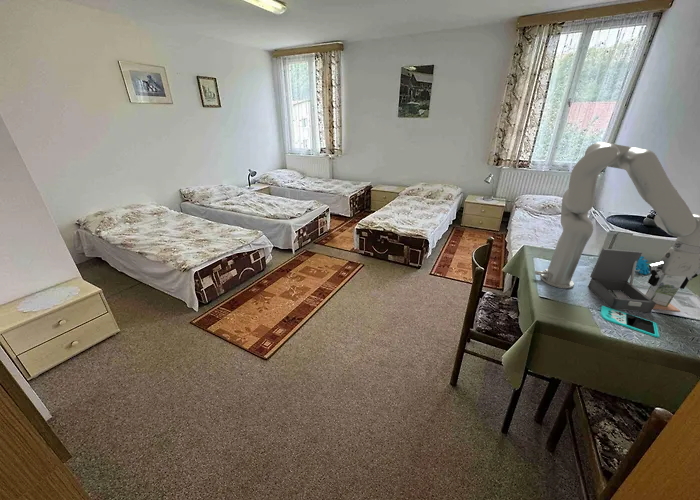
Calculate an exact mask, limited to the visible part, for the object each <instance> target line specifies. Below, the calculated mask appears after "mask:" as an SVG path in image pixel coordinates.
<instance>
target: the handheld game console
mask: <svg viewBox="0 0 700 500" xmlns="http://www.w3.org/2000/svg"><path fill="white" fill-rule="evenodd" d="M600 316H601V317H602V319H603V320H605V321H607V322H610V323H613V324H616V325H619V326H622V327H625V328H628V329H629V330H630V329H631V330H634V331H637V332H639V333H642V334H645V335H648V336H652V337H654V338H657V339H659V337H660V334H659V329H658V324H657V322H654V321H652V320H648V319H645V318H643V317H640V316H637V315H633V314H630V313H626V312H624V311H621V310H619V309H612V308H610V307H609V306H605V305H601V307H600Z"/></svg>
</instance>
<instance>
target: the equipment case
mask: <svg viewBox="0 0 700 500" xmlns="http://www.w3.org/2000/svg"><path fill="white" fill-rule="evenodd" d="M642 254H643V252H642V251H638V250H627V249H626V250H625V249H613V248H602V249H601V251H600V254H599V256H598V258H597V260H596V263H595V265H594V267H593V269H592V272H591V274H590V275H589V277H590V281H589V282H588V285H587V288H588V289H590V290H591V291H592V292H593V293H594V294H595V295H596V296H597V297H598V298H599V299H600V300H601V301H603V303H604V304H605V305H606V306H607V307H608V308H612V309H615V310H622V311H631V312H642V313H650V314H651V312H652V311H653V310H654V309H653V308H654V306H655V304H656V303H655V302H654V301H653V300H651V299H650V298H649V297H647V296H646V295H645V294H646V293H643V292H642V291H641V290H639V289H638V288H637V287H635V286H634V285H633V282H634V277H635V273H636V264H637V262H638V260H639V258H640V257H641V256H642ZM629 279H630V280H629ZM611 291H615V292H617V291H618V292H622V293H623V294H624V295H625V296H627V297H628V298H623V297H617V296H616V295H614V293H613V292H611Z"/></svg>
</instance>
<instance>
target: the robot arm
mask: <svg viewBox="0 0 700 500" xmlns="http://www.w3.org/2000/svg"><path fill="white" fill-rule="evenodd" d="M608 167H609V168H614V169H620V170H624V171H626V173H627V175H628V176H629V178H630V179H631V182H632V184H633V185H634V187H635V189H636V190H637V193H638V194H639V196H640V197H641V198H642V200H643V201H644V202H645V203H647V204H648V205H649V206H650V207H651V208H652V210H653V211H654V212H655V213H656V215H655V216H654V218H653V220H654V224H656V226H657V227H658V228H660V229H661V230H663V231H664V232H666V233H667V235H670V236H672V237H676V239H675V241H674V242H672V243H671V244H670V246H671V247H669V249H668V250H667V251H666V252H665V253H664V254H663V256H661V258H660V260H659V262H655V263H651V264H650V265H649V272H650V273H649V274H650V277H649V279H648V280H647V284H649V285H650V286H651V285H652V286H656V284H657V283H658V281H659V279H660V278H659V277H660V276H661V275H663V274H666V275H671V276H686V279H685V280H684V282H683V283H682V285H681V286H680V288H679V289H681V290H684V289H685V288H686V286H687V285H688V283H689V281H692V280H693V279H695V278H697V277H698V276H699V275H700V213H692V211H691V209H690V207H689V206H688V205H687V202H685V199H684V198H682V196H681V195H680V193H679V192H678V190H677V188H676V187H675V186H674V185H673V183H672V182H671V180H670V178H669V177H668V175H667V172H666V170H665V169H664V167H663V166H662V164H661V161H660V159H659V158H658V156H657V155H656V153H655V152H653V151H652V150H649V149H646V148H643V147H642V148H641V147H634V146H629V145H622V144H617V143H612V142H606V141H597V142H594V143H592V144H591V145H588V147H587V148H586V150H585V152H584V156H582V157H581V158H580V159H579V160H578V161H577V162H576V164H575V165H574V166H573V168H572V170H571V172H570V177H569V181H568V182H569V183H568V189H567V190H566V191H564V194H563V195H562V199H561V207H560V208H561V212H560V224H561V227H562V229H563V230H562V233H561V235H560V237H559V239H558V240H557V244H556V246H555V248H554V252H553V254H552V257H551V259H550V262H549V266H548V268H544V270H535V271H534V275H535V276H539V277H540V279H541V280H542V282H544V283H545V284H547V285H548V286H552V287H555V288H559V289H566V290H567V289H568V290H569V289H571V288H573V287H574V285H575V283H574V281H573V280H572V279H573V276H574V274H575V272H576V269H577V266H578V264H579V262H580V259H581V257H582V254H583V252H584V249H585V247H586V246H587V244H588V242H589V240H590V239H591V237H592V235H593V233H594V225H593V222H592V220H591V219H590V218H589V217H588V215H589V211H591V210H592V208H593V207H594V205H595V199H596V198H595V197H596V189H597V181H598V177H599V175H600V173H601V172H602V171H603V170H604V169H606V168H608ZM659 271H660V273H658V272H659Z"/></svg>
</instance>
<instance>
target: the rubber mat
mask: <svg viewBox="0 0 700 500" xmlns="http://www.w3.org/2000/svg"><path fill="white" fill-rule="evenodd" d="M659 309H661V311H668V310H669V311H670V312H678V311H679V312H681V310H680V309H678V308H677V307H676V306H674V305H673V304H672V303H671V302H670V303H669V305H668V306H667V307H666V306H662V305H657V304H655V306H654V308H653V309H652V310H659ZM679 312H678V313H679Z"/></svg>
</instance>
